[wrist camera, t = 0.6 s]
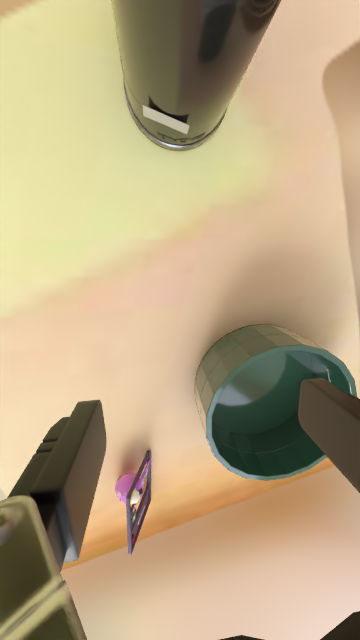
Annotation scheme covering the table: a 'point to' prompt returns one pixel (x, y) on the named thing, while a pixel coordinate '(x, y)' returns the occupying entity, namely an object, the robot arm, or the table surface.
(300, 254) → the table surface
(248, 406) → the bowl
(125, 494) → the game card
